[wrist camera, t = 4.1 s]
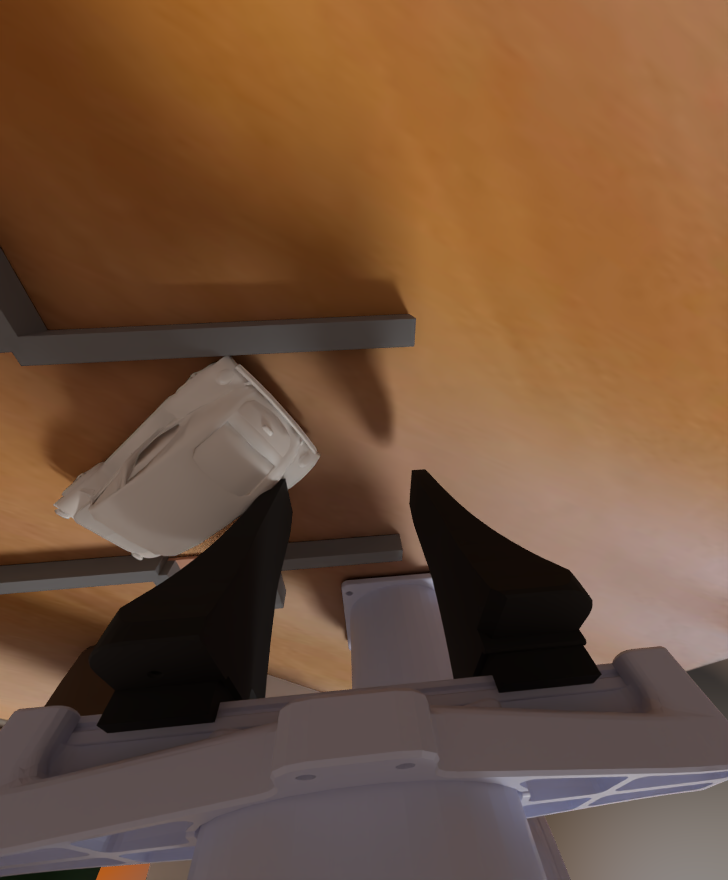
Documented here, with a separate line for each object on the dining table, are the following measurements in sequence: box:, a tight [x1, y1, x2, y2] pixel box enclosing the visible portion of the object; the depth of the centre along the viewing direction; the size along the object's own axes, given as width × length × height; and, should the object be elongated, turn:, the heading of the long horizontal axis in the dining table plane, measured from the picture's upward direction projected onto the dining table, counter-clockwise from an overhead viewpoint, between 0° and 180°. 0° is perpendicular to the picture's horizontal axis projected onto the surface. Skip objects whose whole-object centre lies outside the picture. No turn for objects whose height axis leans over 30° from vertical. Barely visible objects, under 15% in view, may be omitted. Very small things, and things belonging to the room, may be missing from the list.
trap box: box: [0, 248, 416, 609], centre depth 13 cm, size 22×28×3 cm
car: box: [53, 355, 320, 560], centre depth 13 cm, size 12×6×5 cm, turn 123°
